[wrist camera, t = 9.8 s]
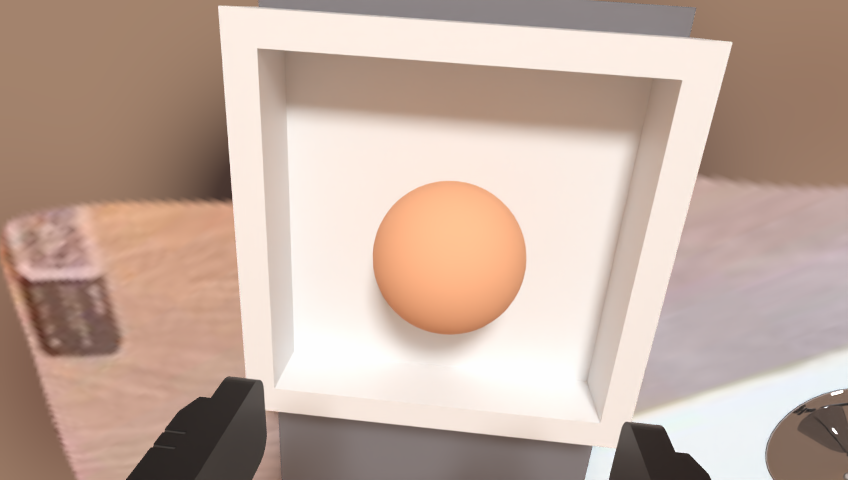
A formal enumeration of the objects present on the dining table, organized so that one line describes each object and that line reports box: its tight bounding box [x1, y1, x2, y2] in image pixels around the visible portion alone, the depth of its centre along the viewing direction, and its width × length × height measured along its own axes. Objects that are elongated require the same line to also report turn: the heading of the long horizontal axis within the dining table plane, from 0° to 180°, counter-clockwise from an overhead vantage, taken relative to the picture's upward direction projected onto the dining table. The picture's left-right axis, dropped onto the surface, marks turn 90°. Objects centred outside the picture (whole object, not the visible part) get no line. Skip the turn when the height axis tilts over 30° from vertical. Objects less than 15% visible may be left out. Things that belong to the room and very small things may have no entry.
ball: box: [373, 181, 526, 335], centre depth 20 cm, size 6×6×6 cm
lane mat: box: [259, 0, 696, 480], centre depth 26 cm, size 16×30×1 cm, turn 176°
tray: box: [218, 6, 732, 448], centre depth 22 cm, size 16×16×4 cm
